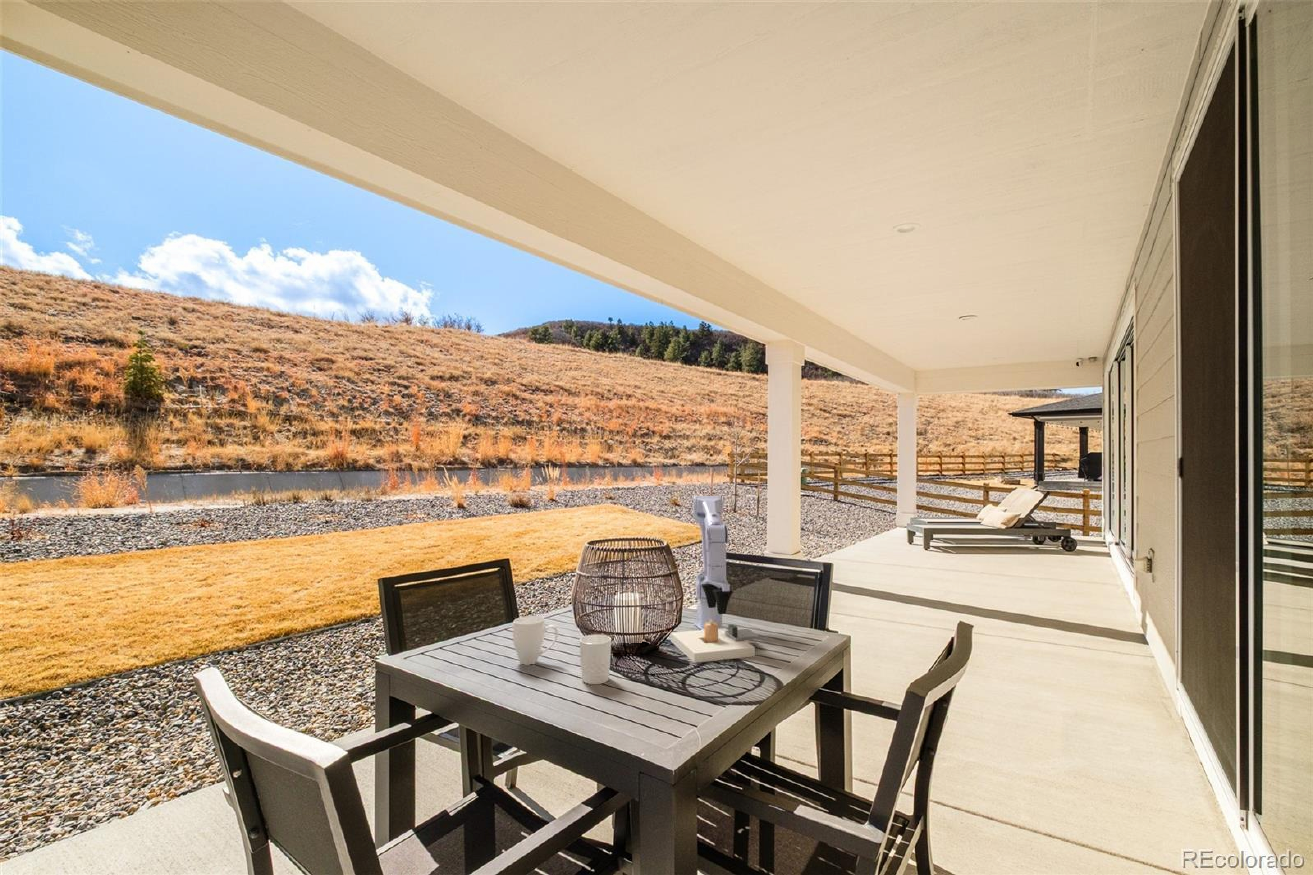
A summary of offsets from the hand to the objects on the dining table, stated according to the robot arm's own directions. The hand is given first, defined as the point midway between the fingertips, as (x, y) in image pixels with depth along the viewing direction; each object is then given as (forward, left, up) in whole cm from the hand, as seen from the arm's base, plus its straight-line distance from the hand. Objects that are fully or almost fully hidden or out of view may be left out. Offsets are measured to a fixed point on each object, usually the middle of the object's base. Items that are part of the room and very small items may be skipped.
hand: (716, 610), depth 179 cm
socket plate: (+5, -4, -9) cm, 11 cm away
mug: (+2, -54, -10) cm, 55 cm away
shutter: (+5, +6, -7) cm, 10 cm away
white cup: (+19, -41, -10) cm, 46 cm away
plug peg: (+5, -4, -9) cm, 11 cm away
